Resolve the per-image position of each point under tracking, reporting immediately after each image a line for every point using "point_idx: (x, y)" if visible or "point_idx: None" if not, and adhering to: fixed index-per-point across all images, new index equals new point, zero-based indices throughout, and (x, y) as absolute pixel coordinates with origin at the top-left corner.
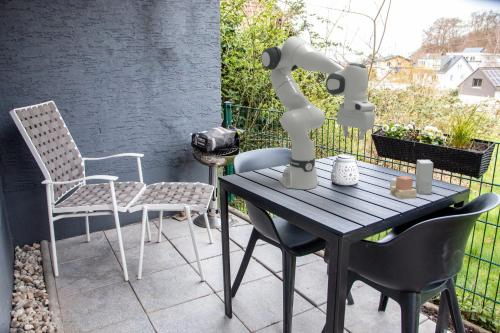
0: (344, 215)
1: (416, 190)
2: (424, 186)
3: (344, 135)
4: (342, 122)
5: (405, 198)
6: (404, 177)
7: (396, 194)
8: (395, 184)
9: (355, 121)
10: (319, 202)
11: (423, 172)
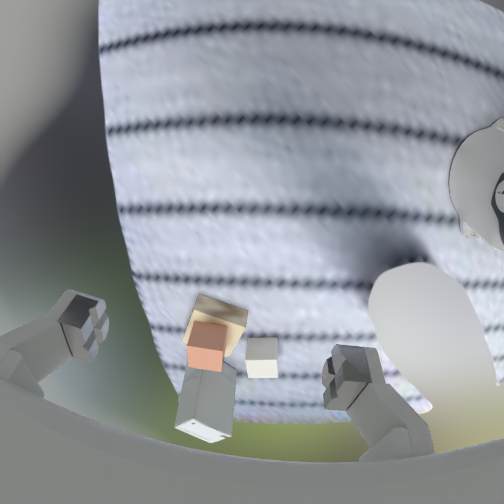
0: (183, 48)
1: (182, 340)
2: (194, 370)
3: (364, 349)
4: (430, 494)
5: (194, 306)
6: (206, 360)
7: (215, 305)
8: (258, 351)
9: (17, 496)
10: (336, 70)
11: (191, 399)
